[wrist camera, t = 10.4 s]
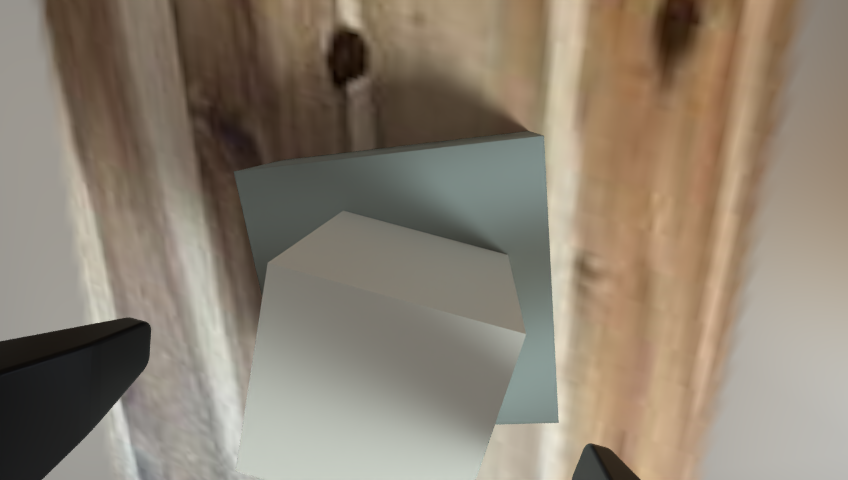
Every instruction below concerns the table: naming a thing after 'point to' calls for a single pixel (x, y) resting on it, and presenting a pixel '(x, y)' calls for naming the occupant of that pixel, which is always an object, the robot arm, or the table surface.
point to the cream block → (379, 356)
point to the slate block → (431, 224)
